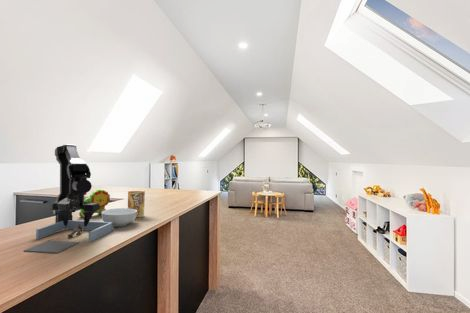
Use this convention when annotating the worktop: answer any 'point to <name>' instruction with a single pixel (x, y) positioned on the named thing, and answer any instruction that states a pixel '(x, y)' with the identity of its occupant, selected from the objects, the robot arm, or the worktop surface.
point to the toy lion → (97, 201)
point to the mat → (51, 246)
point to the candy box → (136, 202)
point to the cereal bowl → (119, 216)
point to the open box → (96, 227)
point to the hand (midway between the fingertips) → (75, 225)
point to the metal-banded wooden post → (75, 231)
